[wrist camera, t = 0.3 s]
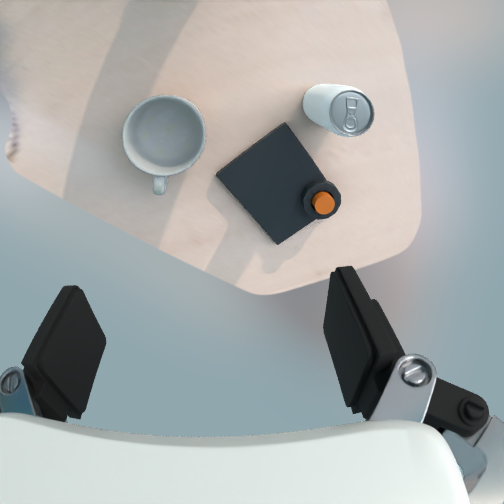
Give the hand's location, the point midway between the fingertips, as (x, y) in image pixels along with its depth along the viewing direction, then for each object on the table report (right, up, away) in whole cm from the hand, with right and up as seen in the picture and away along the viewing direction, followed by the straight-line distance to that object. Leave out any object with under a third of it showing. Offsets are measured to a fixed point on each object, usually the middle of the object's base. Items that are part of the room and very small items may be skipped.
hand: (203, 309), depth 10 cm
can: (+12, +24, +29) cm, 40 cm away
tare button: (+13, +10, +35) cm, 38 cm away
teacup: (-10, +19, +31) cm, 38 cm away
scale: (+6, +13, +36) cm, 39 cm away
